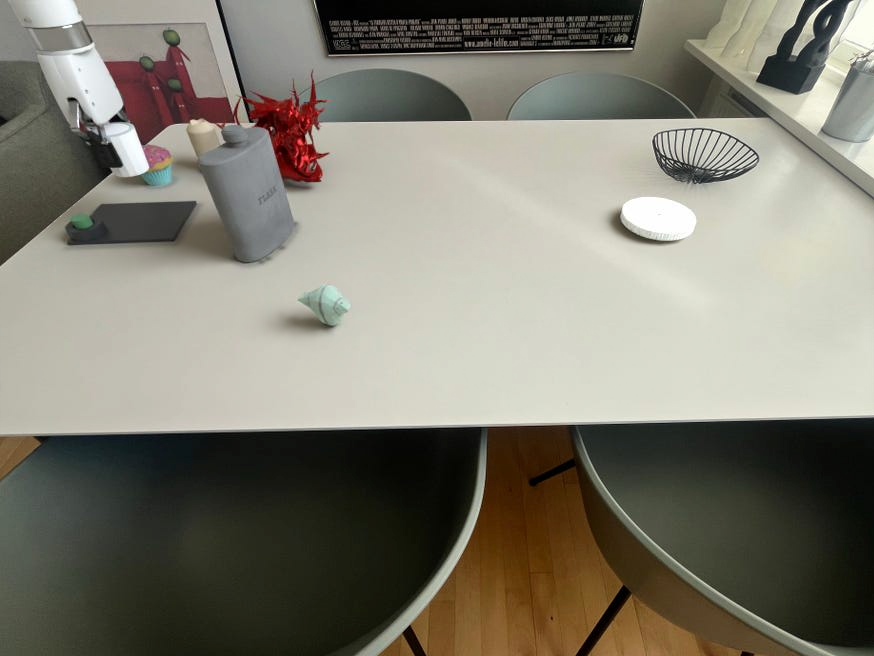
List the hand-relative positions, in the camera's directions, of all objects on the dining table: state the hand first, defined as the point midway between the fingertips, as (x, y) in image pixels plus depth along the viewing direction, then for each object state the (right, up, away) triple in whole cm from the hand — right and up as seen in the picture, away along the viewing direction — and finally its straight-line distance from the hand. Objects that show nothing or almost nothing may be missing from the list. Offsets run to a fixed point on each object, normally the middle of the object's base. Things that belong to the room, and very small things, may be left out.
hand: (122, 156), depth 84 cm
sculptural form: (+20, +9, +26) cm, 34 cm away
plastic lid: (+97, -9, +11) cm, 98 cm away
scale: (-3, -9, +8) cm, 13 cm away
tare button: (-9, -11, +3) cm, 15 cm away
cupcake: (-7, +3, +20) cm, 22 cm away
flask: (+24, -14, +5) cm, 28 cm away
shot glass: (0, -2, +2) cm, 3 cm away
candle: (+2, +8, +25) cm, 27 cm away
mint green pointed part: (+40, -30, -10) cm, 51 cm away
